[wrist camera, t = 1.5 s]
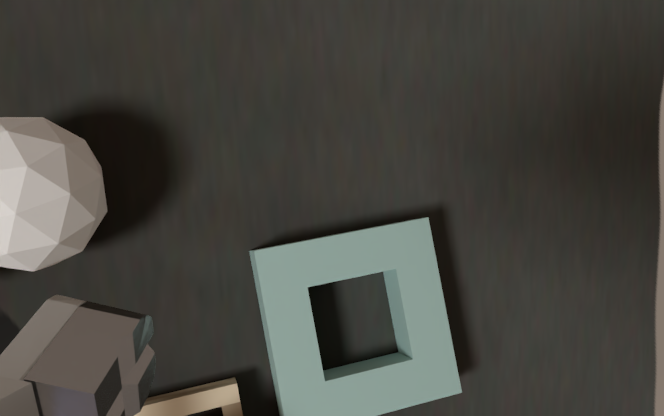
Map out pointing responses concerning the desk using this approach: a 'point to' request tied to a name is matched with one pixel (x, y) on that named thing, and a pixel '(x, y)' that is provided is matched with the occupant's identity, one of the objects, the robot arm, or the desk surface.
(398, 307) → the socket block
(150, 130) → the desk surface
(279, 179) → the desk surface
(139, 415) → the square wooden frame
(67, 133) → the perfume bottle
